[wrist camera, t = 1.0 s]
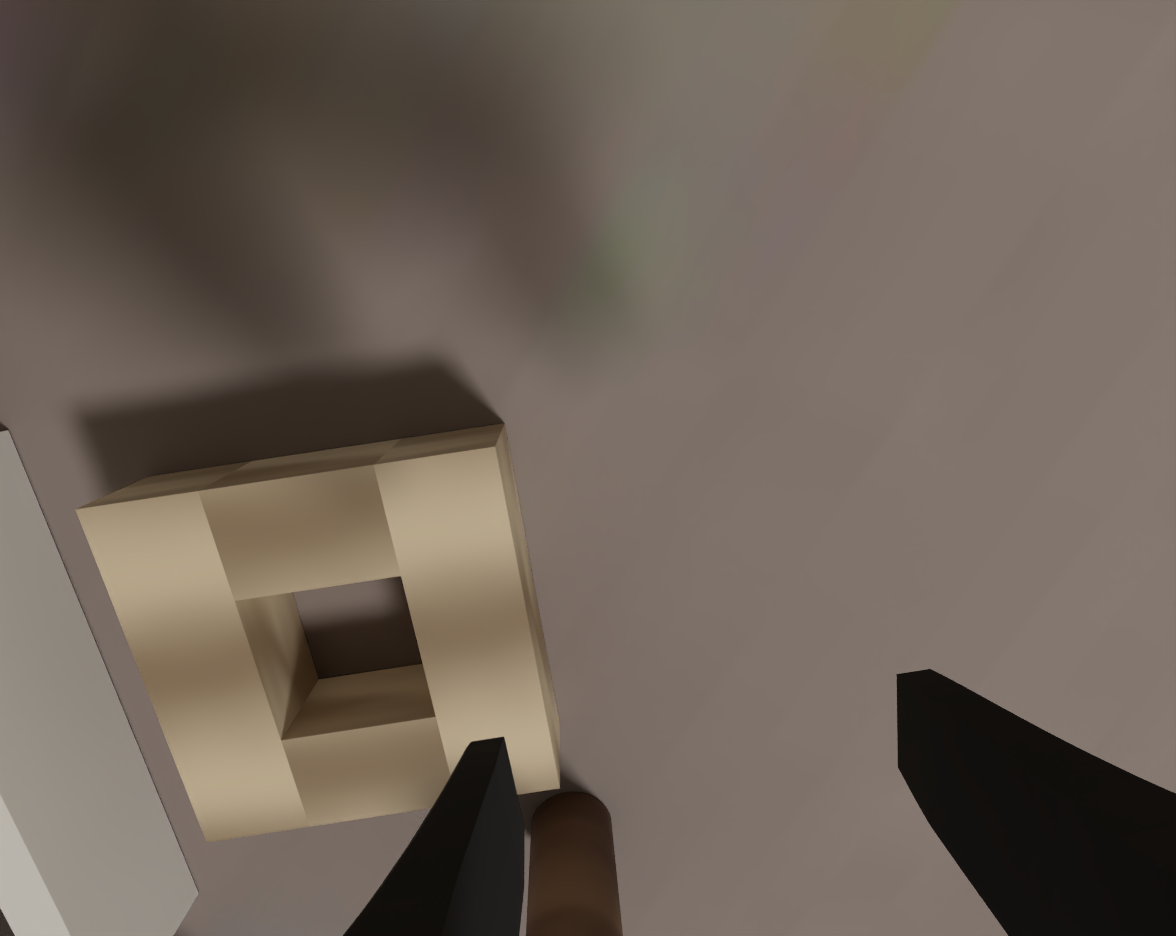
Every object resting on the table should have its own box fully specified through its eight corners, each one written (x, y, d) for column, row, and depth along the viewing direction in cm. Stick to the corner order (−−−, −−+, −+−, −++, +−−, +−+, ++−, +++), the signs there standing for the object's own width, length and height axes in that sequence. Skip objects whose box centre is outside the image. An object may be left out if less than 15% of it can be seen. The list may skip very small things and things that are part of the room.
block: (559, 723, 22) (559, 788, 19) (252, 770, 22) (206, 842, 19) (504, 423, 19) (495, 446, 16) (148, 476, 19) (75, 509, 16)
